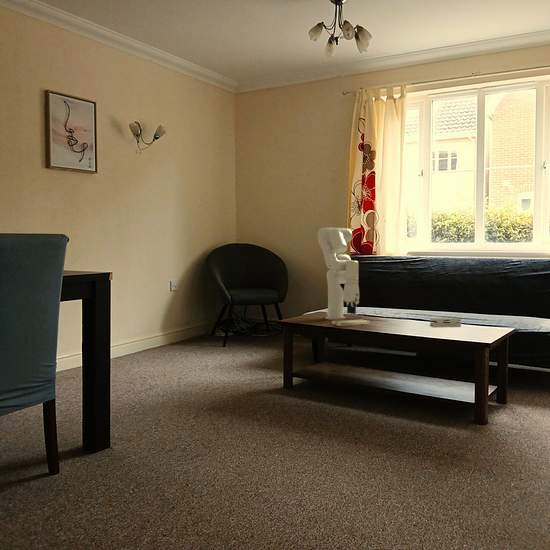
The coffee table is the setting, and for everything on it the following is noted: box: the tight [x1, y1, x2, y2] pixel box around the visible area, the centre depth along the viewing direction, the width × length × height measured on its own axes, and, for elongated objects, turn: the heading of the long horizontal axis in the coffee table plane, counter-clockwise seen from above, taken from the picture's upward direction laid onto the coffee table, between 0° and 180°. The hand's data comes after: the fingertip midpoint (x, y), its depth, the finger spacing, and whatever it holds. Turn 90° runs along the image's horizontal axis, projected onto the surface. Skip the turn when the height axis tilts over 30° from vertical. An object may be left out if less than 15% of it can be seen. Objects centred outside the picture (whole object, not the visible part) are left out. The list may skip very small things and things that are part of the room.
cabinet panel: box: [331, 316, 372, 327], centre depth 326 cm, size 10×20×4 cm, turn 118°
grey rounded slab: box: [429, 317, 462, 328], centre depth 321 cm, size 17×5×10 cm
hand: (351, 313), depth 326 cm, fingers closed
